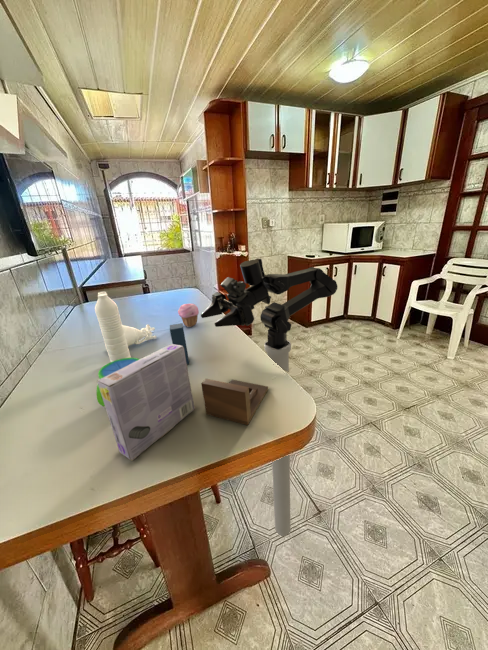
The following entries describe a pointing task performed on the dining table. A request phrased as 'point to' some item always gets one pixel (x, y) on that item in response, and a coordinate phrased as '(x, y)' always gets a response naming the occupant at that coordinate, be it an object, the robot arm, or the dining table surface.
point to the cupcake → (188, 314)
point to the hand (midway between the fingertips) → (207, 320)
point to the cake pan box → (147, 399)
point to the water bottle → (111, 327)
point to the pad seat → (232, 399)
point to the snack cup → (111, 369)
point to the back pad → (179, 337)
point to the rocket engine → (137, 334)
